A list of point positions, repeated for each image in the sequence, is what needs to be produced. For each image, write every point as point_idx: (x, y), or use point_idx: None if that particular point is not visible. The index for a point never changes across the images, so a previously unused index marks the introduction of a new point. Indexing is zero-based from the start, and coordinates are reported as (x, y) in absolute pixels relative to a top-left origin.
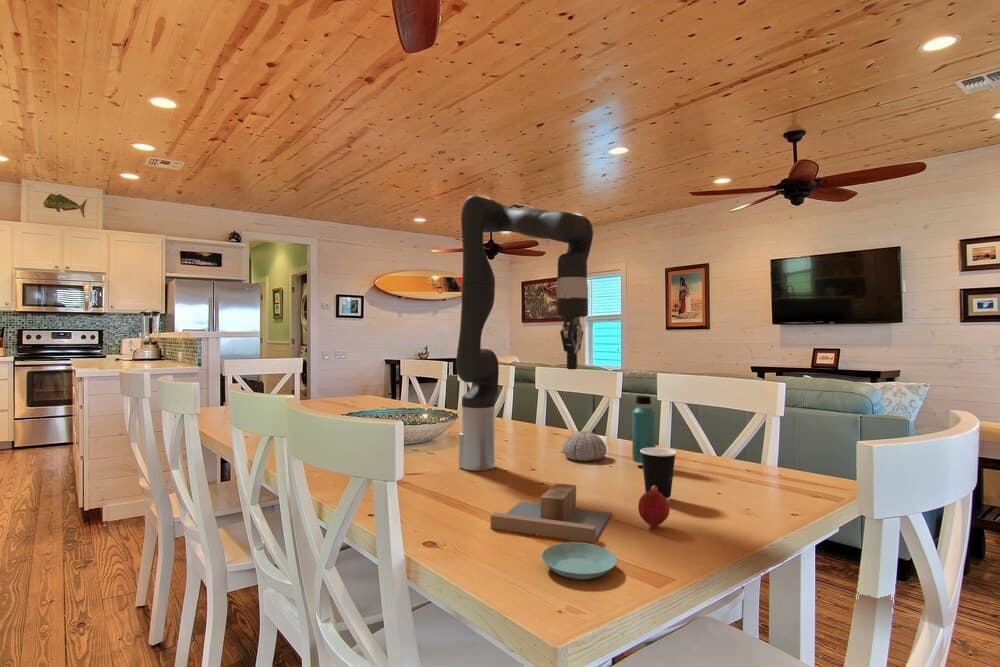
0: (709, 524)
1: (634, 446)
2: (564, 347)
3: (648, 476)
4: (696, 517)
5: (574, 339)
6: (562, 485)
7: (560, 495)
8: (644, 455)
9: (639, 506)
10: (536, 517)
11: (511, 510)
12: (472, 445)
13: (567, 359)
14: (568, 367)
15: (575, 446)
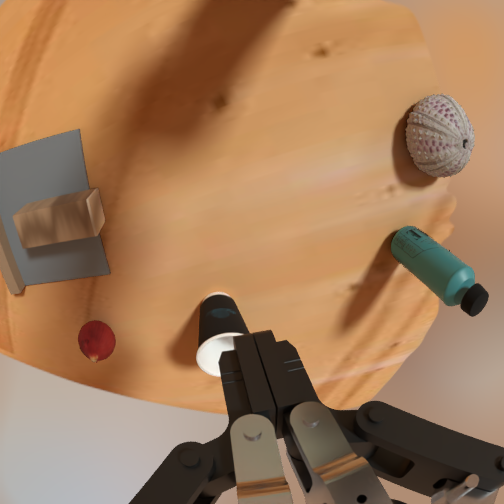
0: (150, 363)
1: (413, 242)
2: (158, 474)
3: (201, 322)
4: (166, 351)
5: (421, 470)
6: (82, 216)
7: (35, 237)
8: (204, 340)
9: (82, 330)
10: (29, 194)
11: (34, 144)
12: None
13: (244, 381)
14: (235, 346)
15: (423, 126)
